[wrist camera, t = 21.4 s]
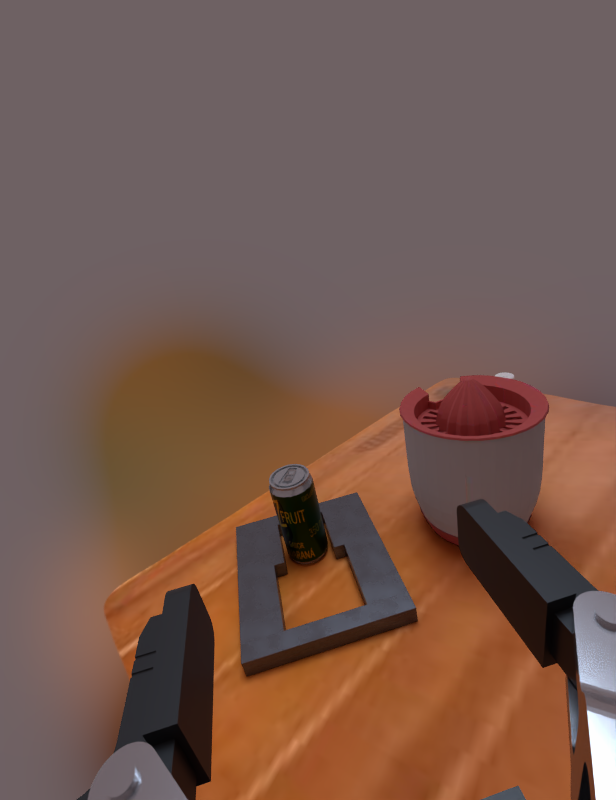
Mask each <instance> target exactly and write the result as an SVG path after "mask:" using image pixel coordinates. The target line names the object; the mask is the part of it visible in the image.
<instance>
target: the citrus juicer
mask: <svg viewBox="0 0 616 800" xmlns="http://www.w3.org/2000/svg"><path fill="white" fill-rule="evenodd" d="M399 410H400V416H401V417H402V419H403V424H404V433H405V441H406V450H407V459H408V467H409V473H410V478H411V484H412V488H413V491H414V494H415V496H416V499H417V501H418V503H419V505H420V508H421V511H422V513H423V515H424V517H425V518H426V520H427V522H428V523H429V524H430V526H431V527H432V528H433V529H434V531H435V532H436V533H437V534H438V535H440V536H441V537H442V538H444V539H446V540H447V541H449V542H451V543H454V544H456V545H459V543H458V526H457V506H458V505H462V504H465V503H468V502H472V501H475V500H478V499H484V500H485V501H486V502H488V504H489V505H490V506H491V507H492V508H493V509H494V510H495V511H496V512H497V513H499V512H502V511H505V510H506V511H507V512H509V513H511V514H513V515H515V516H517V517H519V518H521V519H523V520H524V521H525V522H526V523H528V522H529V520H530V517H531V513H532V511H533V509H534V507H535V505H536V502H537V499H538V496H539V492H540V487H541V480H542V470H543V450H544V431H545V417H546V415H547V414H548V412H549V404H548V402H547V399H546V397H545V396H544V395H543V394H542V393H541V392H540V391H539V390H537V389H535V388H534V387H532V386H531V385H528V384H526V383H523V382H520V381H517V380H513V379H509V378H503V377H497V376H482V375H472V376H461V377H460V382H459V383H458V384H457V385H456V386H455V387H454V388H453V389H452V390H451V391H450V392H449V393H448V394H447V395H446V397H445V398H444V399H443V400H440V401H437V402H431V401H429V394H428V393H426V392H425V391H424V390H422V389H421V388H420V387H418V388H416V389H415V390H413V391H411V392H410V393H409V394H408V395H406V396H405V398H404V399H403V400H402V402H401V405H400V409H399Z"/></svg>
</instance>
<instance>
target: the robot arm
mask: <svg viewBox="0 0 616 800" xmlns="http://www.w3.org/2000/svg"><path fill="white" fill-rule="evenodd" d="M457 526H458V543H459V548H460V551H461V554H462V556H463V558H464V560H465V562H466V564H467V565H468V566H469V568H470V569H471V570H472V572H473V573H474V575H475V576H476V577H477V579H478V580H479V581H480V583H481V584H482V585H483V587H484V588H485V590H486V591H487V592H488V594H489V595H490V596H491V598H492V599H493V600H494V602H495V603H496V605H497V606H498V607H499V609H500V610H501V611H502V613H503V614H504V615H505V617H506V618H507V620H508V621H509V622H510V624H511V625H512V626H513V628H514V629H515V630H516V632H517V633H518V635H519V636H520V637H521V639H522V640H523V641H524V643H525V644H526V645H527V647H528V648H529V650H530V651H531V652H532V654H533V655H534V656H535V658H536V659H537V660H538V662H539V663H540V665H541V666H542V667H543V668H544V667H547V666H550V665H553V664H555V663H558V664H559V666H560V667H561V668H562V670H563V671H564V672H565V674H566V680H565V681H566V697H567V712H568V727H569V743H570V758H571V800H616V595H614V594H611V593H608V592H602V591H598V590H597V589H596V588H595V587H593V586H592V585H591V584H590V583H589V582H588V581H587V580H586V579H585V578H584V577H583V576H582V575H581V574H580V573H579V572H578V571H577V570H576V569H575V568H574V567H573V566H571V565H570V564H569V563H568V562H567V561H566V560H565V559H564V558H563V557H562V556H561V555H560V554H559V553H558V552H557V551H556V550H555V549H554V548H553V547H552V546H549V544H548V543H547V542H546V541H545V540H544V539H543V538H542V537H541V536H540V535H538V534H537V532H536V531H535V530H534V529H533V528H532V527H531V526H530V525H529V524H528V523H526V522H525V521H524V520H523V519H521V518H519V517H517V516H515V515H513V514H511V513H509V512H507V511H506V510H505V511H502V512H499V513H497V512H496V511H495V510H494V509H493V508H492V507H491V506H490V505H489V504H488V502H486V501H485V500H484V499H478V500H475V501H472V502H468V503H465V504H462V505H458V506H457ZM135 658H136V660H135V661H134V665H133V669H132V678H131V679H130V683H129V688H128V693H127V697H126V702H125V707H124V712H123V717H122V721H121V726H120V730H119V735H118V740H117V744H116V748H115V751H114V754H113V755H112V756H111V757H109V759H108V760H107V761H106V762H105V763H104V764H103V766H102V767H101V769H100V770H99V772H98V773H97V775H96V777H95V779H94V781H93V783H92V785H91V788H90V789H89V790H88V791H87V792H86V793H85V794H83V795H82V796H81V797H80V798H78V799H77V800H196V786H199V785H202V784H205V783H207V782H210V781H211V754H212V716H213V678H214V631H213V626H212V622H211V619H210V616H209V614H208V612H207V610H206V607H205V605H204V603H203V600H202V598H201V596H200V594H199V591H198V589H197V587H196V585H195V584H191V585H188V586H184V587H181V588H178V589H174V590H171V591H168V592H167V593H166V595H165V600H164V606H163V612H162V614H160V615H157V616H154V617H151V618H150V619H149V621H148V623H147V625H146V626H145V628H144V630H143V632H142V633H141V635H140V637H139V641H138V646H137V650H136V655H135ZM481 800H526V799H525V797H524V795H523V793H522V792H521V790H520V788H519V786H516V787H513V788H510V789H508V790H505V791H502V792H500V793H497V794H494V795H492V796H489V797H486V798H484V799H481Z"/></svg>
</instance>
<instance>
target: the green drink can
mask: <svg viewBox="0 0 616 800" xmlns="http://www.w3.org/2000/svg"><path fill="white" fill-rule="evenodd" d="M269 483H270V486H269V489H270V493H271V497H272V500H273V503H274V507H275V510H276V514H277V517H278V520H279V524H280V527H281V530H282V534H283V537H284V541H285V544H286V547H287V551H288V554H289V556H290V557H291V558H292V559H293V560H294V561H296V562H297V563H299V564H312V563H315V562H317V561H318V560H320V559H321V558H322V557H323V556H324V554H325V552H326V550H327V545H328V541H327V537H326V533H325V529H324V524H323V520H322V516H321V512H320V508H319V504H318V499H317V495H316V491H315V487H314V483H313V479H312V476H311V474H310V473H309V471H308V469H307V468H306V467H305V466H303V465H298V464H291V465H286V466H283V467H281V468H279V469H277V470H276V471H274V472H273V473H272V475H271V476H270V478H269Z"/></svg>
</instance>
